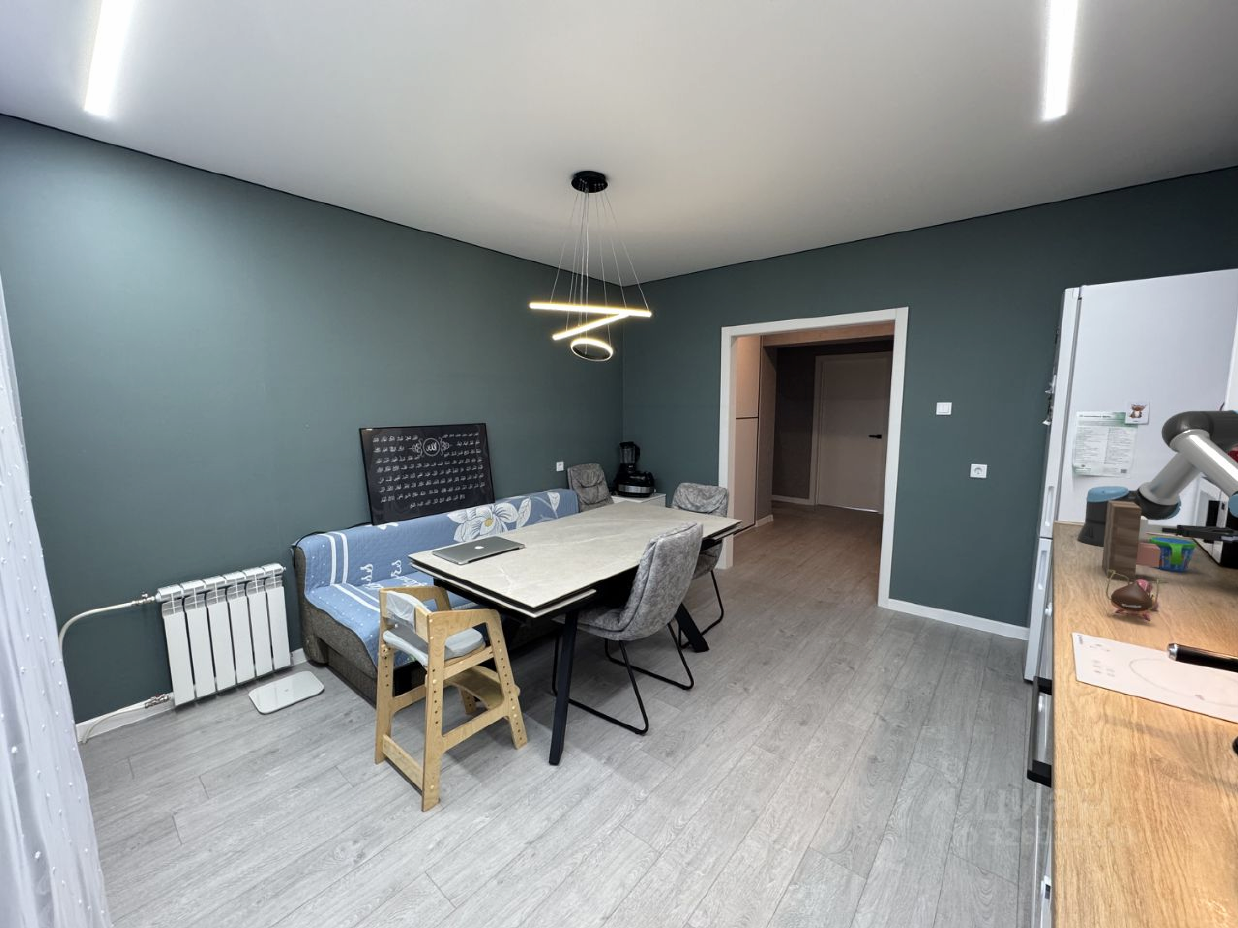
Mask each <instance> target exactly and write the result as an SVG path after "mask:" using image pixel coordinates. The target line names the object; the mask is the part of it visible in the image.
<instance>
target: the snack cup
mask: <svg viewBox="0 0 1238 928" xmlns="http://www.w3.org/2000/svg"><path fill="white" fill-rule="evenodd" d="M1149 544H1156V545H1157V546H1158V547H1159V548H1160V559H1159V567H1156V568H1157V569H1160V570H1163V571H1170V572H1177V573H1180V572H1182V573H1183V572H1184V573H1185V572H1186V571H1187V569H1189V565H1190V562H1191V559H1192V556H1193V552H1194V550H1195V549H1196V548H1197V543H1196V542H1194V541H1191V540H1187V539H1182V538H1174V537H1164V536H1152V537H1150V538H1149Z"/></svg>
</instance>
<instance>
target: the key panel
mask: <svg viewBox="0 0 1238 928" xmlns="http://www.w3.org/2000/svg"><path fill="white" fill-rule="evenodd" d="M1141 511H1142V508H1140V507H1139V506H1138V505H1136V504H1135V503H1134V502H1127V501H1113V500H1108V504H1107V515H1106V526H1105V537H1104V547H1103V550H1102V560H1101V569H1102V571H1103V572H1104V574H1105V575H1106V578H1107V579H1108V580H1109V579H1110V577H1111V575H1112V574H1113V573H1110V572H1108V571H1107V570H1114V571H1115V573H1117V574H1120V575H1123V576H1126V577H1128V578H1129V583H1130V582H1131V583H1133V582H1135V581H1136V570H1137V565H1136V562H1137V552H1138V542H1139V540H1140V538H1139V531H1140V521H1141ZM1139 543H1140V542H1139ZM1114 571H1111V572H1114ZM1117 574H1114V575H1113V577H1112V578H1111V580H1116V581H1123V582H1124V581H1125V582H1127V578H1126V577H1123V576H1120V575H1117Z"/></svg>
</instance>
